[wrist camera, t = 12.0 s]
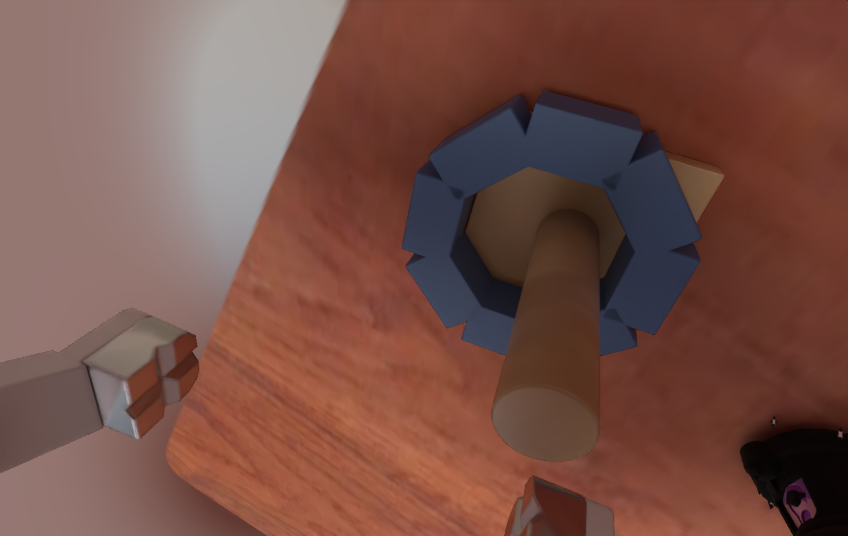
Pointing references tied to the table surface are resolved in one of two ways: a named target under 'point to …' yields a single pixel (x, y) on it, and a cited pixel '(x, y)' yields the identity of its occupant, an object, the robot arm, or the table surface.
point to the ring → (571, 158)
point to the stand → (557, 299)
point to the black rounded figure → (803, 478)
